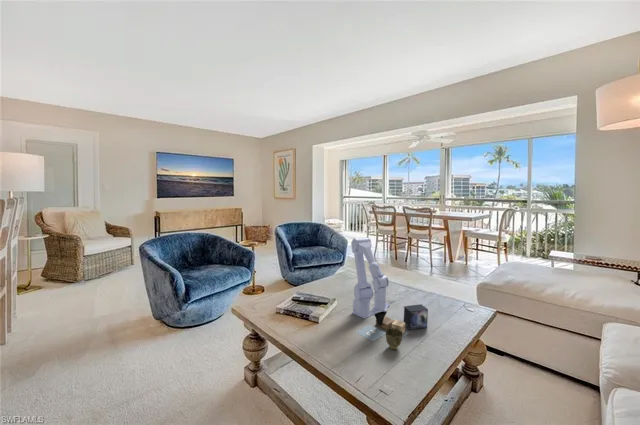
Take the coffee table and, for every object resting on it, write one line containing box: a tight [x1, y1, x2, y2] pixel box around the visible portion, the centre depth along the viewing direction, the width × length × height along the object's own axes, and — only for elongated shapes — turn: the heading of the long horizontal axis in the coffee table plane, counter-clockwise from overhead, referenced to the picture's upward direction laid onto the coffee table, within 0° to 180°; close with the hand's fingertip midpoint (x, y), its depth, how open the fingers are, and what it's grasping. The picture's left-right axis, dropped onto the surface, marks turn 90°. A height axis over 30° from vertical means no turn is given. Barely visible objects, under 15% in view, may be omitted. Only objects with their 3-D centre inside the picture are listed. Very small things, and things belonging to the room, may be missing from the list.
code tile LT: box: [355, 324, 386, 342], centre depth 138 cm, size 11×11×1 cm
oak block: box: [391, 319, 406, 335], centre depth 138 cm, size 5×5×5 cm
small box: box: [403, 303, 429, 331], centre depth 144 cm, size 11×6×10 cm, turn 104°
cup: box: [384, 327, 403, 351], centre depth 125 cm, size 8×7×8 cm
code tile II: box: [402, 330, 410, 339], centre depth 138 cm, size 8×8×1 cm
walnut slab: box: [375, 315, 396, 330], centre depth 146 cm, size 7×7×3 cm
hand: (379, 324), depth 143 cm, fingers closed
